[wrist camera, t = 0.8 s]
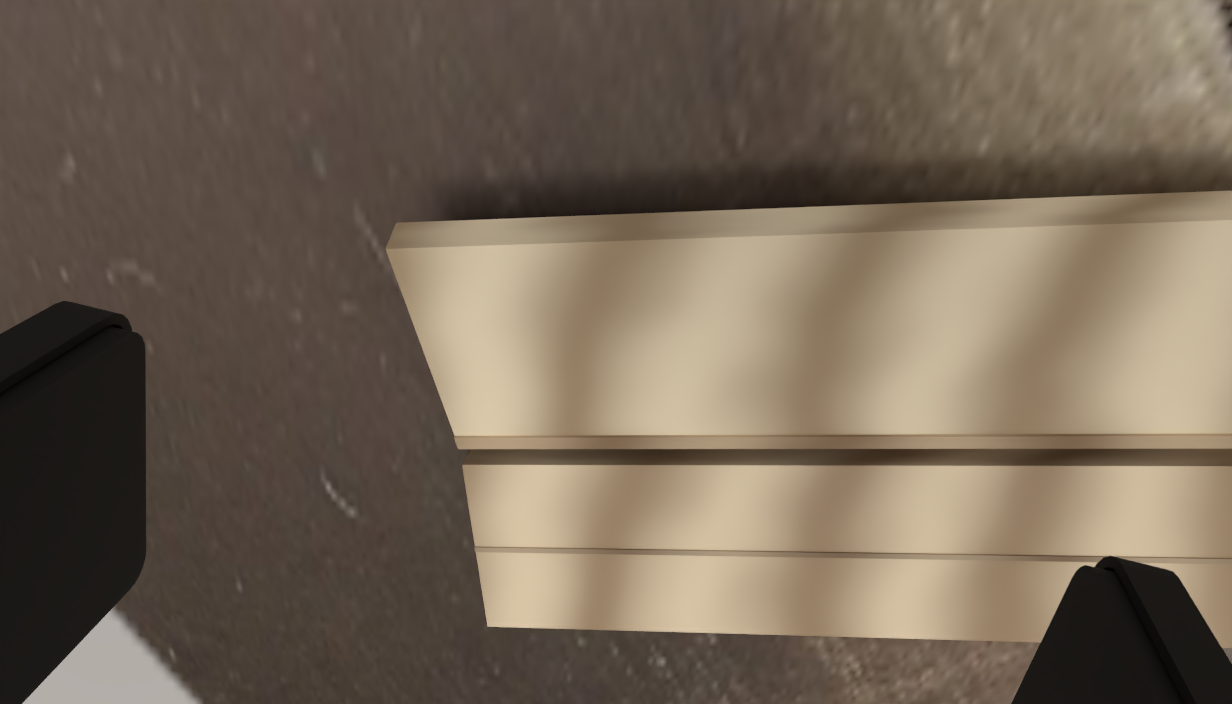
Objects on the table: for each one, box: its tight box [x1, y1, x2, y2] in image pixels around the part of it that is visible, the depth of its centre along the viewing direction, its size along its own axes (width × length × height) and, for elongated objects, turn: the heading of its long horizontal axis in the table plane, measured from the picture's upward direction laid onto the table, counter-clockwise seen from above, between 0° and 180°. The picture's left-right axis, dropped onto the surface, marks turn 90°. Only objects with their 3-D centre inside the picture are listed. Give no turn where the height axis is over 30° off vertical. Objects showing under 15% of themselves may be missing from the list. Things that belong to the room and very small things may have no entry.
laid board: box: [462, 449, 1232, 648], centre depth 35 cm, size 26×7×1 cm, turn 95°
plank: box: [386, 191, 1232, 449], centre depth 30 cm, size 26×9×1 cm, turn 95°
